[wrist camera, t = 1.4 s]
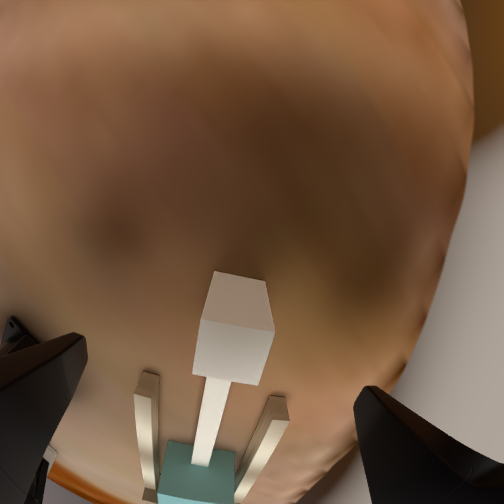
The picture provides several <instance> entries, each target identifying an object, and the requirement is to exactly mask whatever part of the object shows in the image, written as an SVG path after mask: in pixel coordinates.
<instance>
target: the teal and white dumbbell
mask: <svg viewBox="0 0 504 504" xmlns="http://www.w3.org/2000/svg"><path fill="white" fill-rule="evenodd" d="M274 335H275V328H274V323H273V318H272V313H271V308H270V303H269V298H268V293H267V289H266V284H265V281H261V280H256V279H251V278H246V277H242V276H237V275H232V274H227V273H222V272H218V271H214V274H213V277H212V281H211V284H210V288H209V291H208V295H207V298H206V302H205V305H204V309H203V313H202V316H201V321H200V327H199V333H198V339H197V345H196V351H195V358H194V364H193V371H192V374H195V375H199V376H204V377H207V378H206V383H205V388H204V393H203V399H202V404H201V410H200V415H199V421H198V426H197V432H196V437H195V443H194V446H193V445H188V444H183V443H179V442H174V441H170V440H169V441H168V446H167V450H166V454H165V459H164V463H163V468H162V473H161V477H160V482H159V487H158V492H157V496H158V504H234V463H235V452H232V451H224V450H217V449H213V447H214V443H215V439H216V436H217V432H218V429H219V425H220V421H221V418H222V414H223V410H224V407H225V403H226V399H227V396H228V392H229V388H230V384H231V381H232V382H238V383H245V384H252V385H258V383H259V381H260V378H261V375H262V372H263V369H264V366H265V363H266V360H267V357H268V354H269V351H270V348H271V345H272V342H273V338H274Z"/></svg>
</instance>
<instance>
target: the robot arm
mask: <svg viewBox="0 0 504 504" xmlns="http://www.w3.org/2000/svg"><path fill="white" fill-rule="evenodd" d="M87 360H88V354H87V345H86V338H85V337H84V336H83V335H81V334H78V333H75V332H72V333H69V334H66V335H63V336H61V337H58V338H55V339H52V340H49V341H46V342H43V343H40V344H39V343H38V342H37V341H36V340H35V339H34V338H33V337H32V336H31V335H30V334H29V333H28V332H27V330H26V329H25V328H24V327H23V326H22V325H21V324H20V322H19V321H18V320H17V319H16V318H15V317H14V316H11V317H10V318H8V320H7V323H6V326H5V330H4V334H3V338H2V342H1V346H0V504H42V501H43V494H44V488H45V483H46V477H47V472H48V467H49V462H48V461H47V460H46V459H45V458H44V457H43V455H44V453H45V451H46V449H47V447H48V445H49V443H50V441H51V439H52V436H53V434H54V432H55V430H56V428H57V426H58V424H59V423H60V421H61V419H62V417H63V415H64V413H65V411H66V409H67V407H68V405H69V403H70V401H71V400H72V397H73V395H74V392H75V390H76V387H77V385H78V383H79V380H80V378H81V375H82V373H83V371H84V368H85V366H86V364H87ZM353 410H354V417H355V424H356V431H357V438H358V444H359V449H360V453H361V457H362V461H363V466H364V470H365V474H366V478H367V483H368V487H369V492H370V497H371V500H372V504H504V464H503V463H499V462H497V461H495V460H492V459H490V458H488V457H486V456H484V455H482V454H480V453H478V452H476V451H474V450H472V449H471V448H469V447H467V446H465V445H464V444H462V443H460V442H459V441H457V440H455V439H454V438H452V437H451V436H448V434H446V433H445V432H443V431H442V430H440V429H438V428H437V427H435V426H434V425H432V424H431V423H429V422H428V421H426V420H425V419H423V418H422V417H421V416H419V415H418V414H416V413H414V412H413V411H412V410H410V409H409V408H407V407H406V406H404V405H403V404H401V403H400V402H399V401H397V400H396V399H394V398H393V397H391V396H390V395H389V394H387V393H386V392H384V391H383V390H381V389H380V388H379V387H377V386H365V387H364V388H363V389H362V391H361V392H360V394H359V396H358V397H357V399H356V401H355V403H354V406H353Z"/></svg>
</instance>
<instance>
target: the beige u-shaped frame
mask: <svg viewBox="0 0 504 504" xmlns="http://www.w3.org/2000/svg"><path fill="white" fill-rule="evenodd" d="M158 403H159V376H158V375H154V374H151V373H147V372H143V374H142V376H141V378H140V380H139V383H138V385H137V387H136V390H135V392H134V406H135V418H136V429H137V438H138V447H139V454H140V461H141V468H142V474H143V479H144V485H145V489H144V493H143V498H142V502H143V503H145V504H158V496H157V492H158V487H159V482H160V477H161V474H159V453H158ZM289 421H290V420H289V414H288V409H287V404H286V398H285V397H275V396H269V398H268V401H267V403H266V406H265V408H264V411H263V413H262V415H261V418H260V420H259V423H258V425H257V427H256V430H255V432H254V434H253V437H252V439H251V441H250V443H249V446H248V448H247V450H246V452H245V455H244V457H243V459H242V461H241V463H240V465H239V468H238V470H237V472H236V474H235V476H234V504H240V503H241V502H242V500H243V499H244V497H245V496H246V494H247V493H248V491H249V490H250V488H251V487H252V485H253V484H254V482H255V480H256V479H257V477H258V476H259V474H260V472H261V471H262V469H263V468H264V466H265V464H266V463H267V461H268V459H269V457H270V456H271V454H272V452H273V451H274V449H275V447H276V445H277V444H278V442H279V440H280V438H281V436H282V435H283V433H284V431H285V429H286V427H287V425H288V423H289Z"/></svg>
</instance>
